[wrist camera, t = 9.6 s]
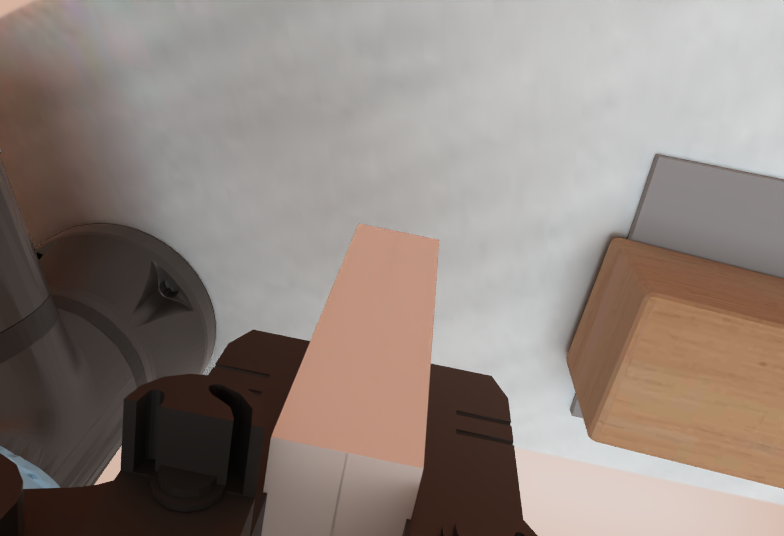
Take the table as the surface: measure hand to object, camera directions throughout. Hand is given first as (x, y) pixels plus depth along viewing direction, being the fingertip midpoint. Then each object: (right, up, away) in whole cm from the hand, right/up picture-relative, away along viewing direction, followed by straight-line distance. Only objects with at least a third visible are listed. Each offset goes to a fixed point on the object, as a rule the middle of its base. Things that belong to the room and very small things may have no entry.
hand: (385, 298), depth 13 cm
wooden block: (+13, -3, +31) cm, 34 cm away
